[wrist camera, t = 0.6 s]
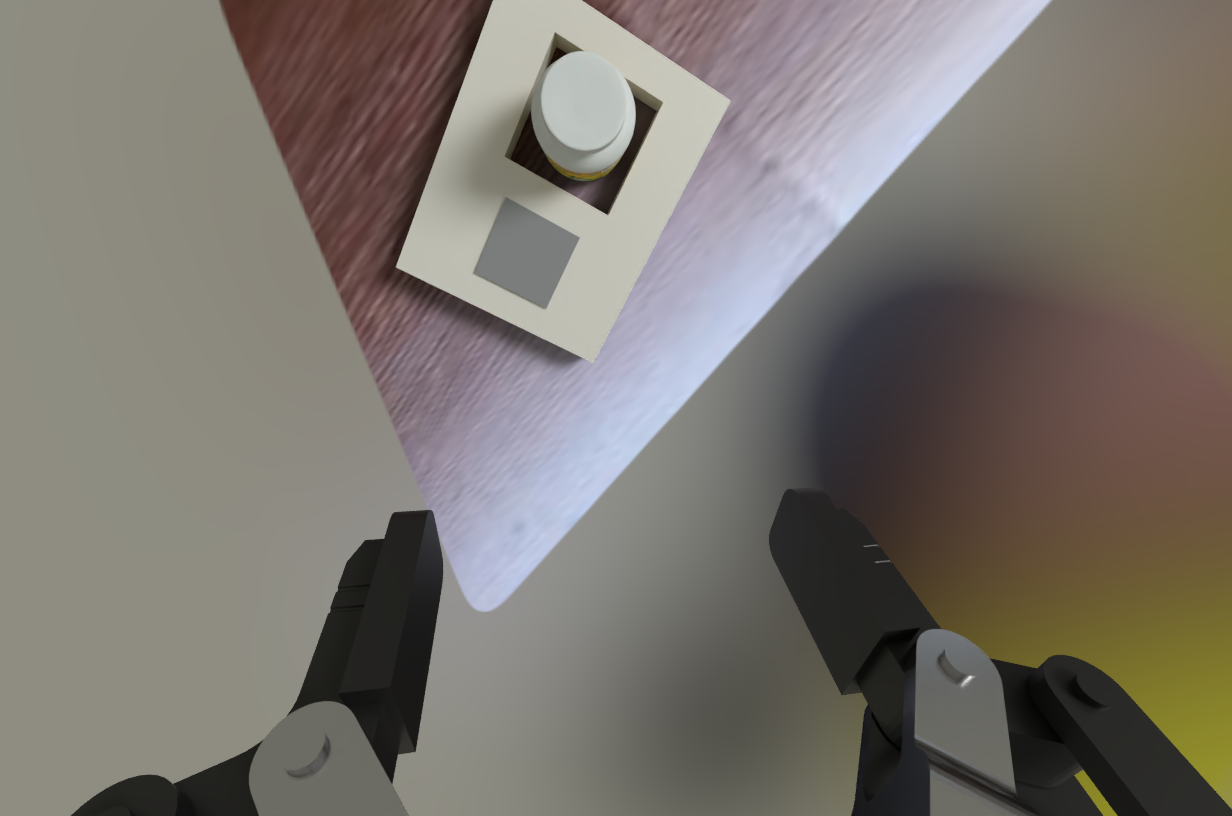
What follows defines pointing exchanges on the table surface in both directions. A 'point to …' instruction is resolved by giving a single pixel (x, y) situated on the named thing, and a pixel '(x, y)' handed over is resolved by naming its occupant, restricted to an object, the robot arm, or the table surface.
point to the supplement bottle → (583, 115)
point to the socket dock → (538, 210)
